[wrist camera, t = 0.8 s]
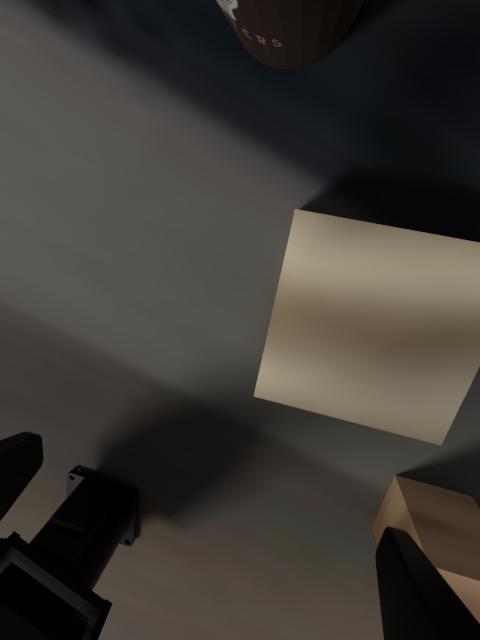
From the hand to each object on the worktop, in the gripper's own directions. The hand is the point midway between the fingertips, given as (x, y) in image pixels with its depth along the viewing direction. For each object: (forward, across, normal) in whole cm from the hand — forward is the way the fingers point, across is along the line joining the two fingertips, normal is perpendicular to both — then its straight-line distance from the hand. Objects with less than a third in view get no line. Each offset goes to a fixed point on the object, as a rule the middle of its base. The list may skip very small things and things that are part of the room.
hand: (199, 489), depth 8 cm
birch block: (+13, -6, -2) cm, 14 cm away
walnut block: (+13, -13, +11) cm, 22 cm away
